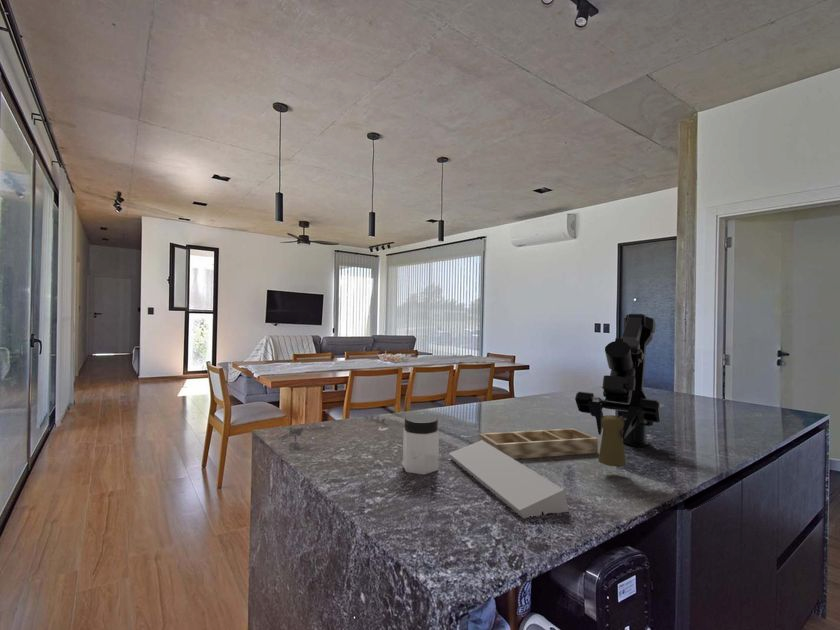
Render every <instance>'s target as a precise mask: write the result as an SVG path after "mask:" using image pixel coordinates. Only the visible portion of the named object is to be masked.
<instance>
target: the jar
mask: <svg viewBox="0 0 840 630" xmlns="http://www.w3.org/2000/svg"><path fill="white" fill-rule="evenodd" d="M402 436H403V437H402V438H403V441H402V443H403V444H402V467H403V469H404V470H405V472H406V473H408V474H409V473H410V474H417V475H422V476H423V475H424V476H425V475H427V474H430V473H434V472H436V471H439V449H440V448H439V446H440V445H439V444H440V443H439V440H440V431H439V419H438V418H437V417H435V416H432V415H431V416H430V415H425V414H424V415H423V414H422V415H421V414H417V415H415V414H414V415H409V416H406V417H405V418H404V427H403V435H402Z"/></svg>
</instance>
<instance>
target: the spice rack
mask: <svg viewBox="0 0 840 630" xmlns="http://www.w3.org/2000/svg"><path fill="white" fill-rule="evenodd" d="M478 437H479V438H478V442H479V441H481V440H483V441H484V442H486V443H488V444H489V445H491V446H493V447H494V448H496V449H498V450H499V451H501V452H503V453H504V454H506V455H508V456H509V457H511V458H513V459H514V460H519V458H521V459H530V458H543V457H559V456H561V457H562V456H572V455H586V454H597V453H599V452H598V449H599V440H598V439H599V438H598V437H596V436H592V435H591V434H589V433H586V432H583V431H581V430H578V429H576V428H558V429H555V428H554V429H543V430H541V429H540V430H539V429H538V430H537V429H536V430H523V431H505V432H504V431H502V432H501V431H500V432H486V433H478Z"/></svg>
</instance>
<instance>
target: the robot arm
mask: <svg viewBox="0 0 840 630" xmlns="http://www.w3.org/2000/svg"><path fill="white" fill-rule="evenodd" d="M622 329H623V332H622V335H621V338H619V337H618V338H617V337H615V340H613V341H611V342H609V343H608V344H607V345H606V346H605V347H604V353H605V356H606V357H605V358H606V362H607V366H608V369H609V370H610V374H609V375H603V379H602V389H603V392H602V394H603V397H604V399H602V398H601V397H598V396H595V395H594V394H595V393H593V392H588V391H587V392H586V391H578V392H577V393H576V394H575V398H574V399H575V403H576V407H577V410H578V412H581V413H583V414H584V413H586V414H590V415H591V417H595V421H596V422H595V423H596V428H597V432H598V436H599V435H601V434H602V433H603V428H602V426H601V419H602V417H603V416H604V412H603V409H606V410H614V411H617V416H618V417H621V418H622V419H623V420H624V423H625V425H624V429H623V431H622V437H623V444H626V445H628V446H633V447H637V448H639V447H645V446H646V447H647V446H650V445H652V444H651V442H649V441H646V440H647V438H646V437H647V436H646V434H647V427H650V426H651V427H652V426H654V423H660V422H661V414H662V413H661V407H660V406H661V405H660V402H659V401H658V400H657V399H650V398H647V397H646V395H645V393H644V386H645V385H644V382H645V371H646V369H645V368H646V356H647V355H646V353H647V346H648V345H649V344H650V343H651V341H653V338H654V337H653V335H654V334H655V333H656V322H655V319H654V318H652V317H649V316H647V315H646V314H643V313H628V314H626V316H625V317H624V318H623V328H622Z"/></svg>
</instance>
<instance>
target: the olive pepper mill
mask: <svg viewBox="0 0 840 630" xmlns="http://www.w3.org/2000/svg"><path fill="white" fill-rule="evenodd" d="M624 425H625V423H624V420H623V419H622V418H621V417H618V415H612V414H611V415H610V414H609V415H608V414H607V415H603V417H602V419H601V426H602V433H601V434H602V436H601V442H600V448H599V452H598V453H599V455H598V462H599V463H600V464H602V465H605V466H609V467H618V468H619V467H625V466H627V462H626V460H627V459H626V452H625V446H624V444H625V443H623V437H622V435H623V429H624Z"/></svg>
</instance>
